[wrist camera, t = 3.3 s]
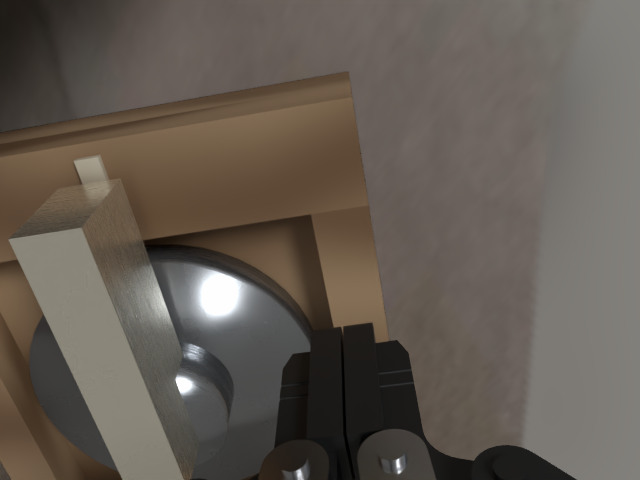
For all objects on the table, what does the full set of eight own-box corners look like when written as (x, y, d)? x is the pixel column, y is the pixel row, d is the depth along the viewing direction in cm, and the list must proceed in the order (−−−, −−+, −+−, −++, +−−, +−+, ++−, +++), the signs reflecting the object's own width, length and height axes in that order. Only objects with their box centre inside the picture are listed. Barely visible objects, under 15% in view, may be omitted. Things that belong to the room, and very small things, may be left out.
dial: (341, 445, 24) (343, 560, 20) (99, 474, 25) (53, 589, 20) (271, 132, 18) (254, 200, 14) (-44, 186, 19) (-153, 264, 14)
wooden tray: (-106, 151, 20) (-177, 189, 17) (348, 71, 19) (352, 99, 16) (86, 510, 28) (59, 575, 25) (409, 473, 27) (419, 538, 24)
